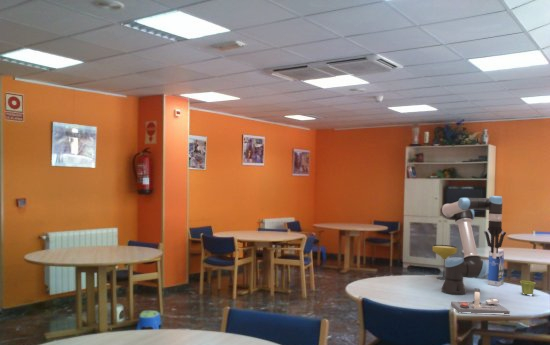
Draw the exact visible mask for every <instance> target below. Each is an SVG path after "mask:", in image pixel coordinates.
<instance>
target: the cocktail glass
mask: <svg viewBox="0 0 550 345" xmlns="http://www.w3.org/2000/svg"><path fill="white" fill-rule="evenodd" d="M432 252H433V253H435V254H437V256H440V257H441V258H442V260H443V271H442V272H443V275H442V276H437V277H436V279H437V280H441V281H445V262H446V259H448V258H450V257H451V256H453V255H455V254H457V252H458V247H457V246H454V245H448V244H447V245H446V244H433V245H432Z"/></svg>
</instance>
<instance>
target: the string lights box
mask: <svg viewBox="0 0 550 345" xmlns="http://www.w3.org/2000/svg"><path fill="white" fill-rule="evenodd" d="M504 255H505V249H503V248H498V253H496V259H494V258H492V253H491V249H489V250H488V271H487V272H488V273H487V274H488V278H487V285H490V286H494V287H500V286H501V285H503V284H504V271H505V270H504V264H505V262H504V260H505V258H504V257H505V256H504Z"/></svg>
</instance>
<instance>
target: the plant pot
mask: <svg viewBox="0 0 550 345" xmlns="http://www.w3.org/2000/svg"><path fill="white" fill-rule="evenodd" d="M519 282H520V285H521V293H524V294H533V295H534V290H535V286H536V282H534V281H531V280H530V281H528V280H520V281H519Z"/></svg>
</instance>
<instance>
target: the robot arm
mask: <svg viewBox="0 0 550 345" xmlns="http://www.w3.org/2000/svg"><path fill="white" fill-rule="evenodd" d="M476 210H478V211H488V225H487V226H488V228H487V230H484V231H483V233H484V235H485V240H486V244H487V247H489V248H490V250H491V253H492V258H494V259H496V253H498V249H500V248H501V247H502V245H503V241H504V240H505V239H504V238H505V235H506V234H507V232H506V231H504V230H503V226H502V225H503V224H502V223H503V222H502V221H503V197H502V196H501V195H500V196H499V195H490V196H489V198H487V197H483V198H482V197H460V198H459V199H458V201H455V202H452V203H444V204H443V205H442V206H440V208H439V214H440V215H441V217H442V218H444V219H445V220H449V221H455V222H454V223H455V225H457V226H458V230H459V235H460V241H461V245H462V249H463V257H458V256H457V257H455V256H454V257H447V258H446V259H445V280H443V284H442V287H441V292H442V293H444V294H448V295H454V296H455V295H456V296H459V295H460V296H461V295H466V287H465V285H464V278H476V279H477V278H483V277H484V276H485V275H486V273H487V263H486V261H485V260H484V259H482V257H481V256H480V255H479V254H478V250H477V245H476V242H475V236H474V232H473V231H474V230H473V228H472V226H473V225H472V223H473V221H474V218H475V211H476ZM489 234H490V235H489Z"/></svg>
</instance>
